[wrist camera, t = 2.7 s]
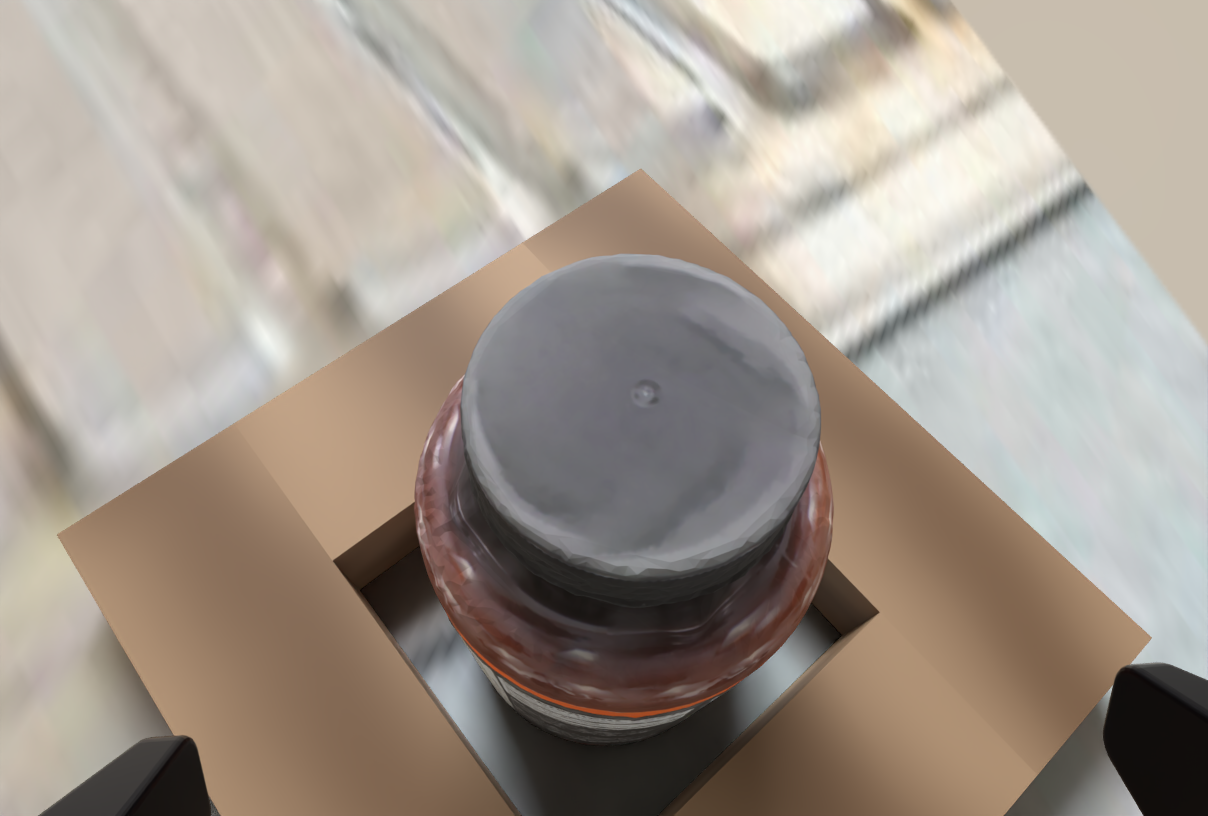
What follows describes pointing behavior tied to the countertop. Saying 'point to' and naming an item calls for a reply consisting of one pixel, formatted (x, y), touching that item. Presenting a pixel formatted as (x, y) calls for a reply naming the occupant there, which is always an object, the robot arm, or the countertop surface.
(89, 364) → the countertop surface
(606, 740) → the supplement bottle
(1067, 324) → the countertop surface
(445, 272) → the countertop surface
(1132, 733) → the robot arm
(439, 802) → the square wooden frame
